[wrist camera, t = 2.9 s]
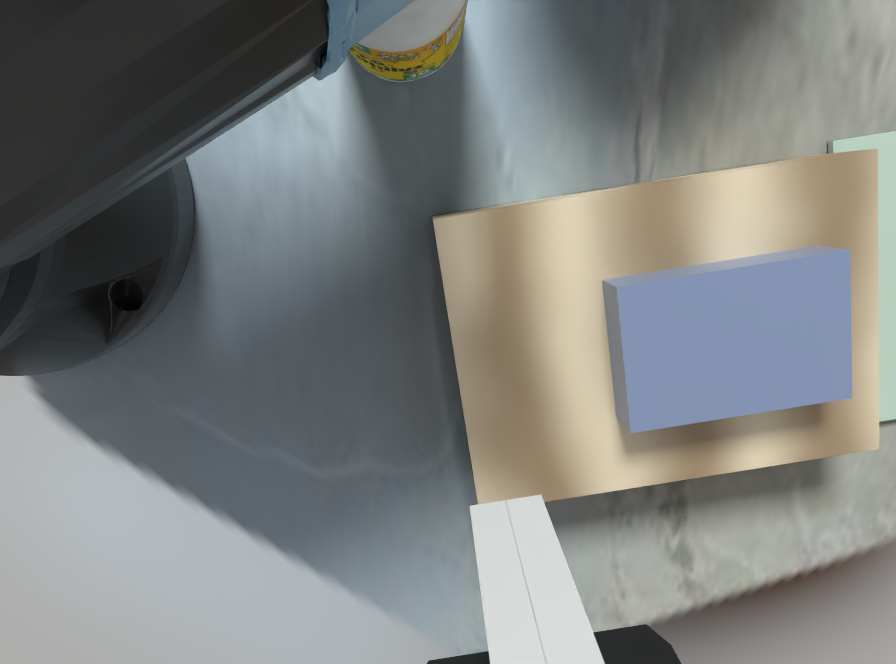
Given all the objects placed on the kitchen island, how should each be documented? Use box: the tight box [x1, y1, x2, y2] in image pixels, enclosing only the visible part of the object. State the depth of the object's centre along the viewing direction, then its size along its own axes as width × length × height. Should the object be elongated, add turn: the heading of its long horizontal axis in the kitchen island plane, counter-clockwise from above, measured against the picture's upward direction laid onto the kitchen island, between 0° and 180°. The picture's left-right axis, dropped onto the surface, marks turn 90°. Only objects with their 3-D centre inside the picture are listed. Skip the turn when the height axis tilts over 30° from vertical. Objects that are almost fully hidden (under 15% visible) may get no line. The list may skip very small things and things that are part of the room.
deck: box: [432, 149, 879, 504], centre depth 28 cm, size 18×13×4 cm
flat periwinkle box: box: [602, 246, 852, 433], centre depth 25 cm, size 9×6×2 cm, turn 99°
